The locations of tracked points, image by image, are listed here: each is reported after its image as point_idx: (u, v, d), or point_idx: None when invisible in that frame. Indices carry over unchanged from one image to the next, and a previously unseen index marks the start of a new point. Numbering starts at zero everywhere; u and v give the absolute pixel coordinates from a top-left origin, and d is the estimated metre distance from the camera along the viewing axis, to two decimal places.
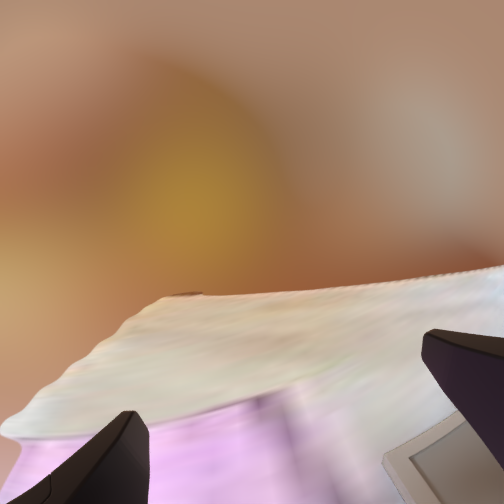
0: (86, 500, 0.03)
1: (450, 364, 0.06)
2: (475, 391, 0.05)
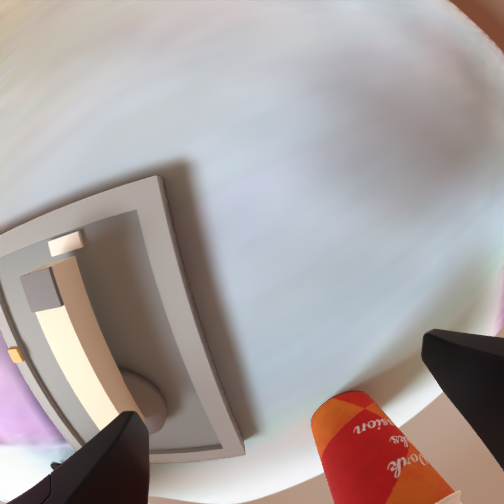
0: (85, 500, 0.03)
1: (450, 364, 0.06)
2: (476, 391, 0.05)
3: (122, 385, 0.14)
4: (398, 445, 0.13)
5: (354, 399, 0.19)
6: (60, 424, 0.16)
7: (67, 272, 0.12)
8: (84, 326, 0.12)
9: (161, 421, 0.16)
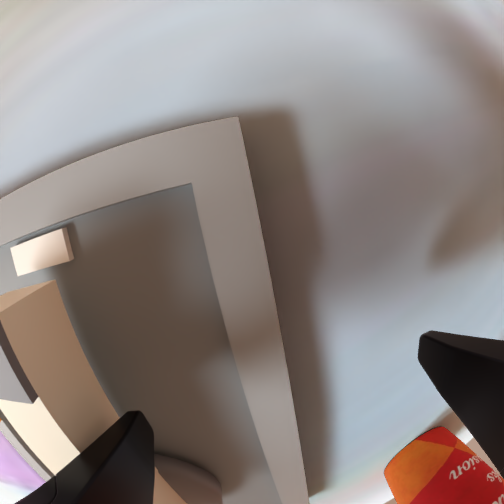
0: (91, 502, 0.03)
1: (446, 366, 0.06)
2: (472, 393, 0.05)
3: (159, 482, 0.07)
4: (495, 482, 0.05)
5: (441, 438, 0.12)
6: None
7: (39, 319, 0.05)
8: (87, 421, 0.05)
9: None
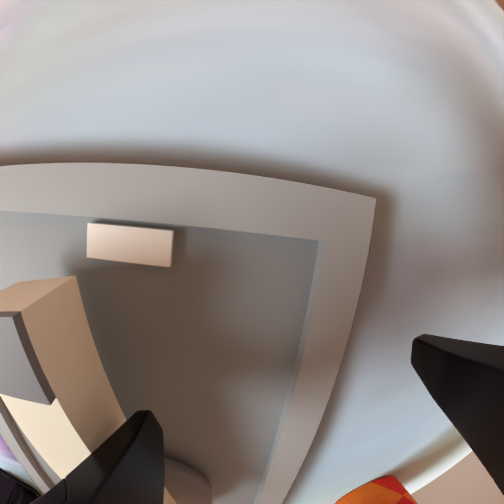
0: None
1: (439, 371, 0.06)
2: (465, 399, 0.05)
3: None
4: None
5: (392, 485, 0.13)
6: (25, 462, 0.08)
7: (59, 317, 0.05)
8: (98, 421, 0.05)
9: None
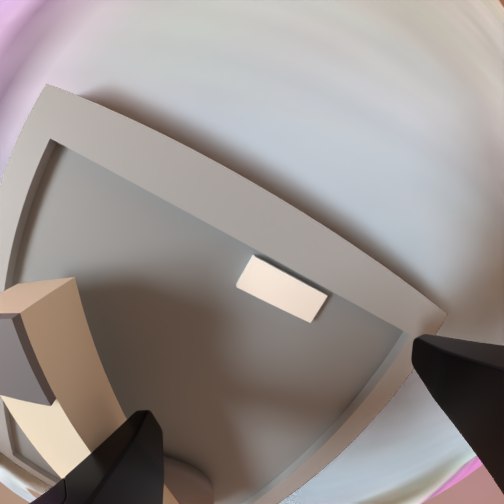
0: None
1: (440, 370, 0.06)
2: (465, 398, 0.05)
3: None
4: None
5: None
6: (0, 424, 0.07)
7: (58, 318, 0.05)
8: (98, 422, 0.05)
9: None
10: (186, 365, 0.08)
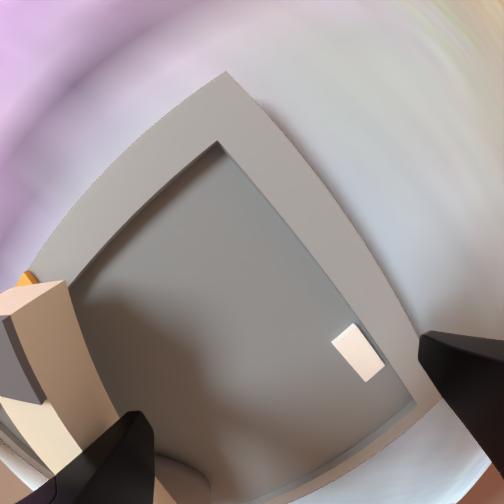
0: (92, 502, 0.03)
1: (446, 366, 0.06)
2: (472, 394, 0.05)
3: None
4: None
5: None
6: None
7: (49, 320, 0.05)
8: (90, 421, 0.05)
9: None
10: (257, 395, 0.09)
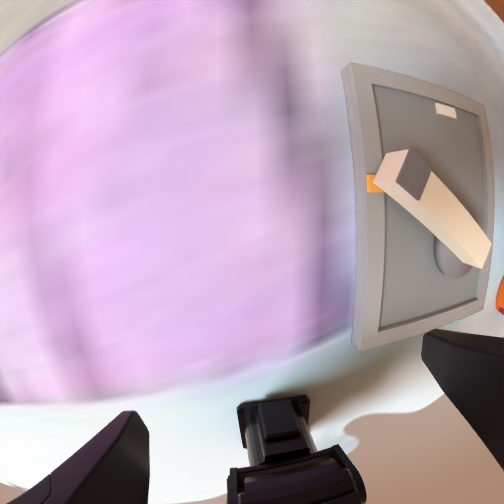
0: (85, 501, 0.03)
1: (450, 364, 0.06)
2: (476, 391, 0.05)
3: None
4: None
5: None
6: (376, 289, 0.19)
7: None
8: None
9: None
10: (441, 149, 0.18)
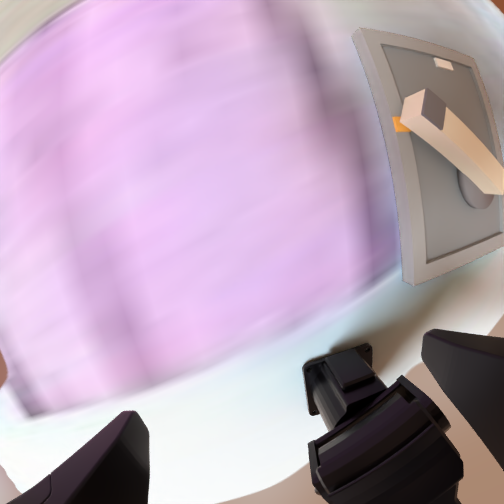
0: (86, 500, 0.03)
1: (450, 364, 0.06)
2: (475, 391, 0.05)
3: None
4: None
5: None
6: (419, 221, 0.19)
7: None
8: None
9: None
10: (446, 96, 0.17)
